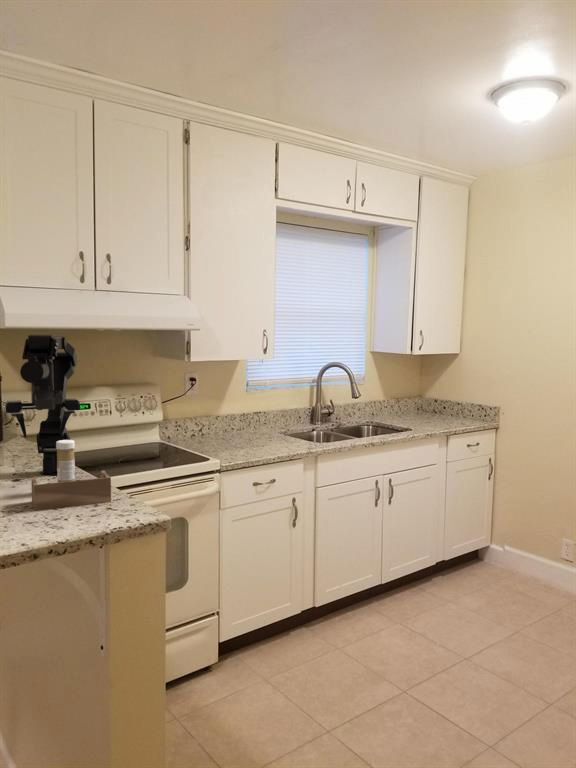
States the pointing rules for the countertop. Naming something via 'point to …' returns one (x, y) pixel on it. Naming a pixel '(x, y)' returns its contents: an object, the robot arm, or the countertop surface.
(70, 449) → the sprinkles bottle
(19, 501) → the countertop surface
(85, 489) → the walnut crate
